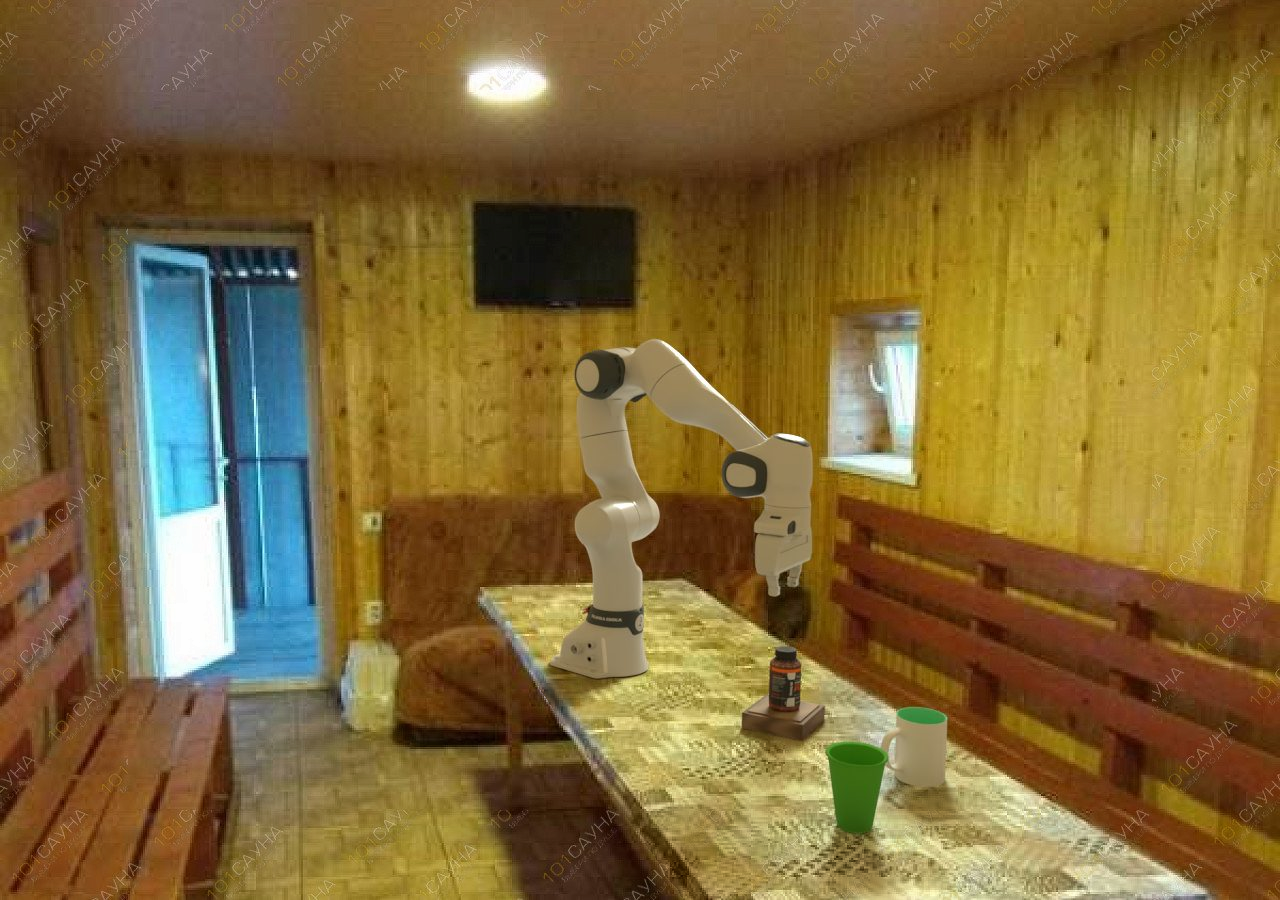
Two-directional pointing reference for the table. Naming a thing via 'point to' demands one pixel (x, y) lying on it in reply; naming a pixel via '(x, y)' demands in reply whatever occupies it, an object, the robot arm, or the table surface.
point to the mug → (918, 746)
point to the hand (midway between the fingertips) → (783, 590)
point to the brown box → (783, 719)
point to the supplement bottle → (785, 680)
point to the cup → (855, 783)
